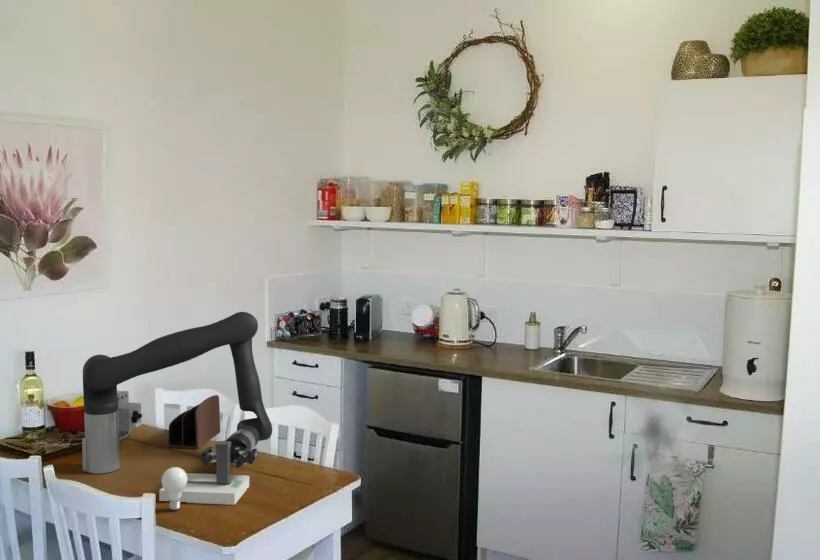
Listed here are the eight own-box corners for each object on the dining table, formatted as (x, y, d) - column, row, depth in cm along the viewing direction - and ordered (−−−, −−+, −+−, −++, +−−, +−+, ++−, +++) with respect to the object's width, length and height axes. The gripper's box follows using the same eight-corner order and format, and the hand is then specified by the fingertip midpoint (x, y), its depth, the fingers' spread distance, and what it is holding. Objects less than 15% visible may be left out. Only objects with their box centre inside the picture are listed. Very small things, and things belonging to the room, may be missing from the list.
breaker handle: (215, 483, 218) (215, 444, 217) (219, 479, 221) (218, 440, 220) (228, 484, 218) (227, 444, 217) (231, 480, 221) (231, 441, 220)
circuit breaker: (134, 443, 264) (133, 397, 263) (94, 440, 267) (93, 394, 266) (146, 436, 271) (145, 392, 270) (107, 433, 274) (106, 389, 273)
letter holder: (220, 432, 278) (220, 392, 277) (197, 450, 259) (197, 406, 257) (192, 431, 279) (192, 390, 278) (167, 448, 260) (167, 404, 258)
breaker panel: (159, 501, 214) (159, 490, 214) (178, 483, 228) (178, 472, 228) (234, 504, 213) (234, 493, 212) (249, 486, 226) (249, 475, 226)
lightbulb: (164, 505, 211) (164, 463, 210) (189, 504, 212) (189, 463, 211) (159, 514, 205) (158, 472, 204) (185, 514, 206) (184, 471, 205)
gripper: (214, 432, 233) (195, 449, 217) (263, 433, 232) (247, 451, 216) (214, 457, 234) (195, 476, 218) (263, 459, 233) (247, 478, 217)
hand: (221, 463), depth 217 cm, fingers open, 8 cm apart
